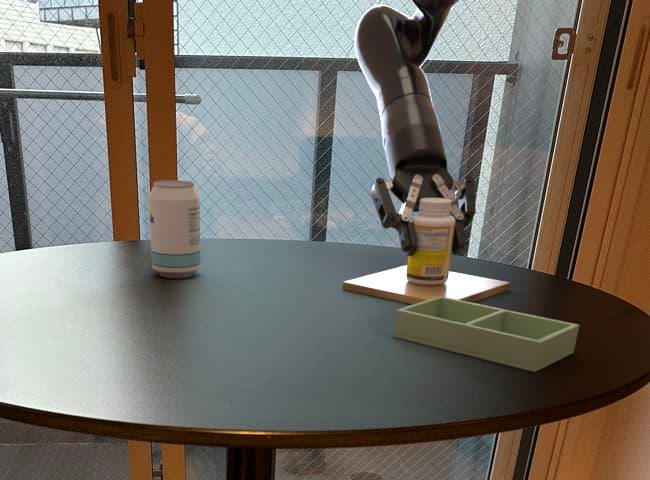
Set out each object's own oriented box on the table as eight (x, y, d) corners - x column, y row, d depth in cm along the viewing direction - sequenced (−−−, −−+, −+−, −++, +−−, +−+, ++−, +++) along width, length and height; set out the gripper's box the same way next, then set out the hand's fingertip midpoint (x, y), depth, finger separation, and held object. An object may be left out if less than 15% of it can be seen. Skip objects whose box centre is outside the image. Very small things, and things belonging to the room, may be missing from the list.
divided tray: (435, 321, 94) (439, 295, 93) (573, 353, 84) (579, 324, 83) (393, 336, 89) (396, 309, 87) (534, 372, 79) (540, 342, 77)
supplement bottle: (422, 275, 111) (431, 195, 106) (455, 282, 107) (467, 200, 102) (396, 281, 108) (405, 199, 103) (430, 288, 104) (440, 204, 99)
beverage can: (156, 268, 118) (152, 179, 112) (203, 269, 117) (201, 180, 111) (148, 279, 112) (144, 186, 106) (198, 280, 111) (196, 186, 105)
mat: (409, 271, 118) (410, 264, 117) (509, 289, 108) (510, 282, 108) (342, 289, 108) (342, 281, 107) (445, 311, 98) (446, 303, 98)
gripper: (369, 121, 103) (392, 235, 99) (474, 120, 105) (500, 232, 101) (353, 162, 110) (374, 270, 106) (452, 160, 113) (475, 266, 109)
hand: (435, 251), depth 104 cm, fingers open, 5 cm apart
